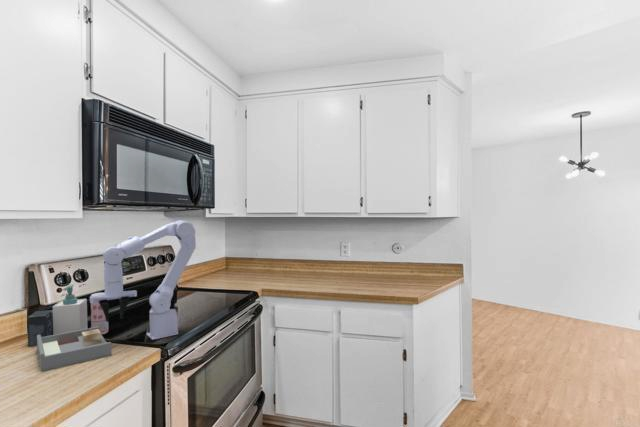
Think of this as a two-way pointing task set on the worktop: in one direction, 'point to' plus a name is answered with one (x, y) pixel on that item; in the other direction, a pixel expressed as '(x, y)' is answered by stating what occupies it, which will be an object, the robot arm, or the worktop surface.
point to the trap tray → (68, 349)
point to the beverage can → (98, 316)
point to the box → (39, 325)
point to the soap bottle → (69, 313)
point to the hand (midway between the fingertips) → (114, 319)
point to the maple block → (91, 337)
